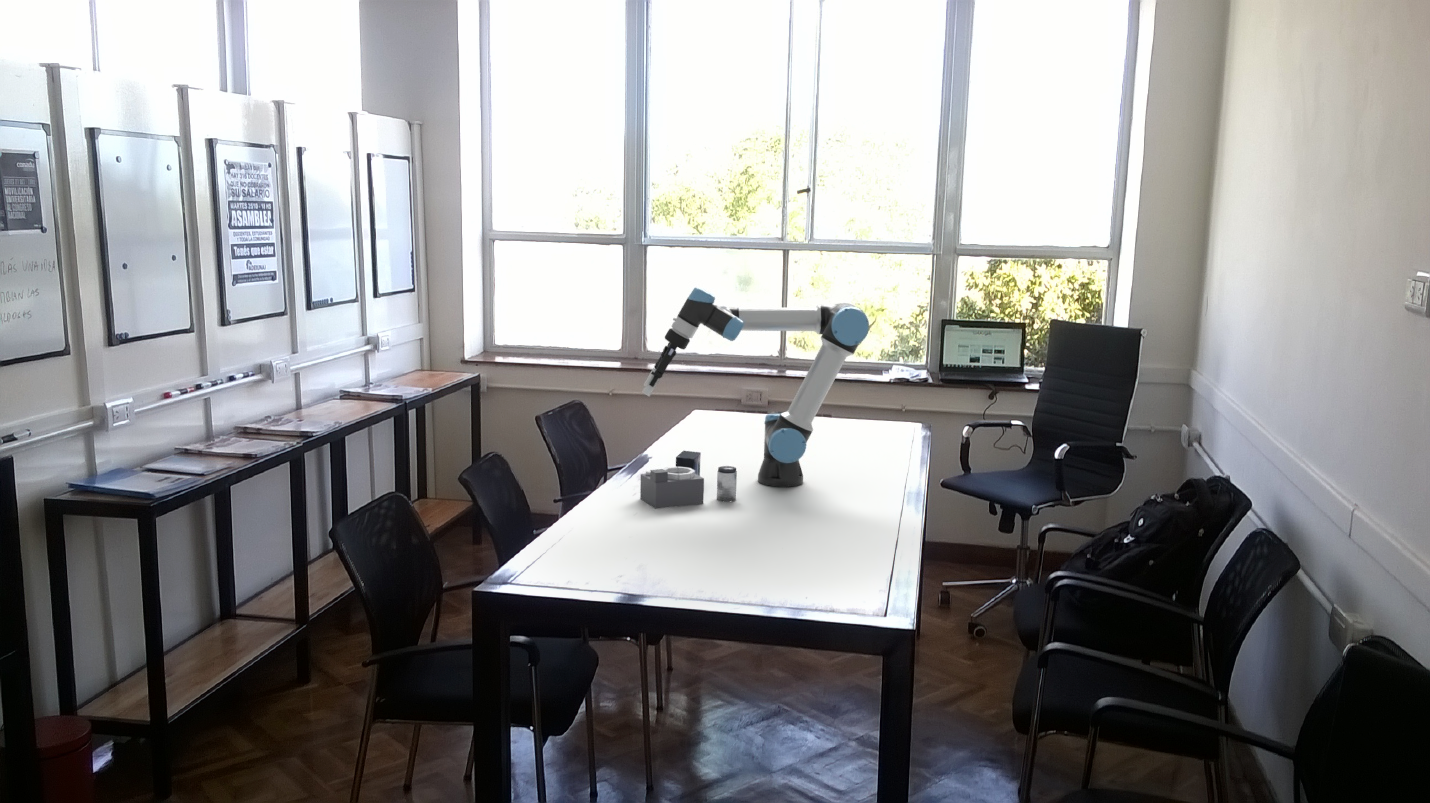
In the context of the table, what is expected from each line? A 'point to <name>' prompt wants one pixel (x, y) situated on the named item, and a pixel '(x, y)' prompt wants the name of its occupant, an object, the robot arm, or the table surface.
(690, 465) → the small box
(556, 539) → the table surface
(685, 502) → the camera body
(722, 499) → the lens
